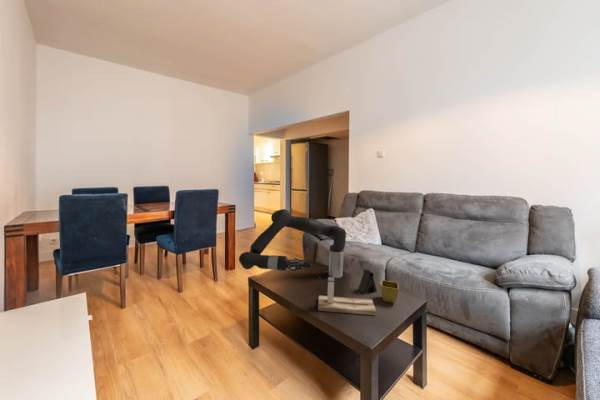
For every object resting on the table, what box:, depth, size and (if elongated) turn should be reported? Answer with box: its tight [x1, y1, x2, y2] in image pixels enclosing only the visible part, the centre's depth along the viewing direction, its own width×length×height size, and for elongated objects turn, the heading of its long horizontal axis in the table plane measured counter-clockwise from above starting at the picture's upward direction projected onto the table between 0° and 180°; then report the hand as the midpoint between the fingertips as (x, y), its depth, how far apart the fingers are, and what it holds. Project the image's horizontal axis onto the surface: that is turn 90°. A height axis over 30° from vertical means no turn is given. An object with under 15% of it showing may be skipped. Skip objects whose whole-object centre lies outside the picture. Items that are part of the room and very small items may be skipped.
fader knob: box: [326, 276, 335, 303], centre depth 131 cm, size 4×3×12 cm
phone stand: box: [357, 268, 378, 295], centre depth 150 cm, size 9×6×12 cm, turn 108°
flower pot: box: [380, 280, 400, 304], centre depth 139 cm, size 9×9×9 cm
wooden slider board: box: [317, 295, 377, 316], centre depth 131 cm, size 12×28×2 cm, turn 84°
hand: (310, 265), depth 132 cm, fingers closed
